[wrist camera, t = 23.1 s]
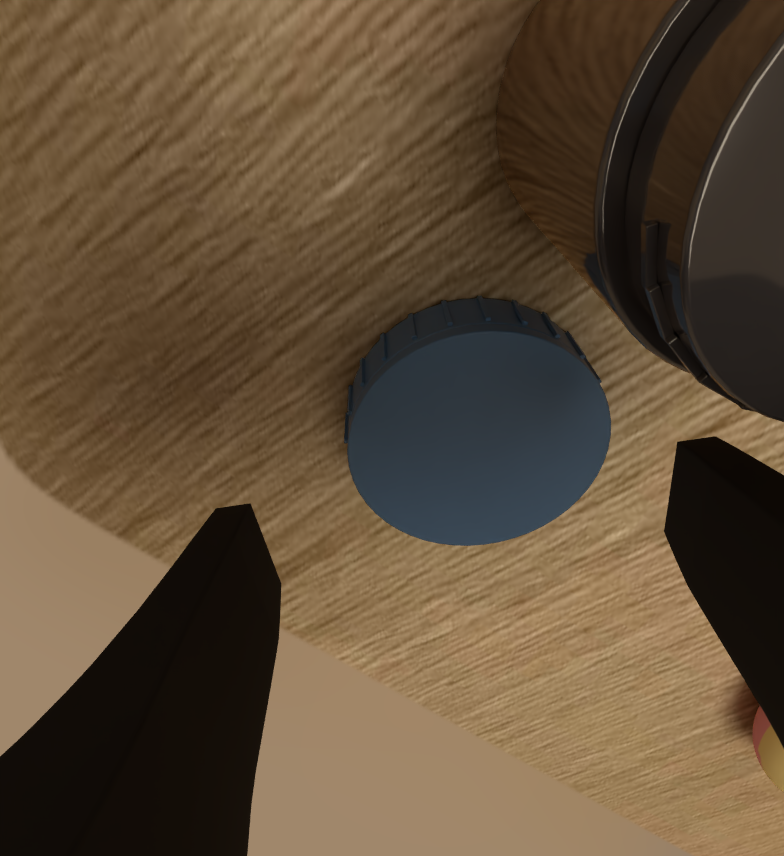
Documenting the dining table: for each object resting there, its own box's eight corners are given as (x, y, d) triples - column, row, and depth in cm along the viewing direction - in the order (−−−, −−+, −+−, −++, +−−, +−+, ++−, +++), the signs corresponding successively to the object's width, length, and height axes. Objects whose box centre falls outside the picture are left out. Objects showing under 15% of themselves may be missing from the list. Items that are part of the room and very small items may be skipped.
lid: (597, 278, 13) (627, 309, 12) (582, 487, 17) (603, 533, 15) (326, 313, 13) (321, 349, 12) (366, 513, 17) (365, 560, 15)
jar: (483, 250, 13) (596, 460, 7) (512, -77, 10) (771, -263, 4) (728, 247, 13) (1065, 449, 7) (831, -75, 10) (1619, -251, 4)
